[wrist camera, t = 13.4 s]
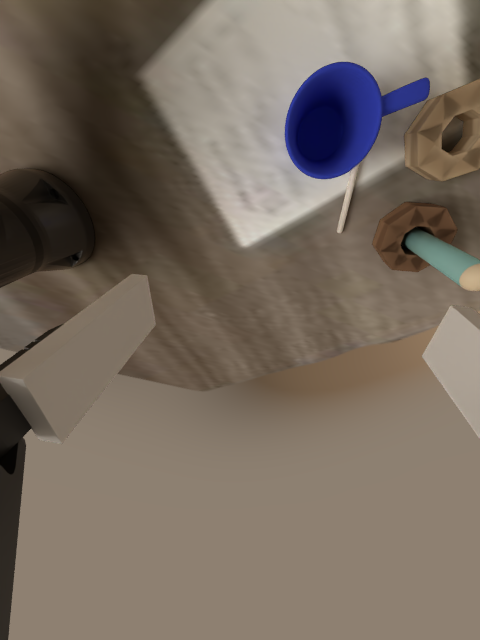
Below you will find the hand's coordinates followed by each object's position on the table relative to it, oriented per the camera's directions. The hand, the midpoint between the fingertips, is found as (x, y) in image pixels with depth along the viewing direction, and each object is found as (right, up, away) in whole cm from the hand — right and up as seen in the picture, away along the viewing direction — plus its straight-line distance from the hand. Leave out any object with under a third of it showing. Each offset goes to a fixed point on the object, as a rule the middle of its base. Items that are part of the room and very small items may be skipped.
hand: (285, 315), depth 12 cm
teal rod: (+21, +12, +23) cm, 34 cm away
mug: (+9, +23, +19) cm, 31 cm away
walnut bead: (+21, +12, +23) cm, 33 cm away
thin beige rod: (+12, +19, +20) cm, 30 cm away
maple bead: (+21, +21, +17) cm, 35 cm away
